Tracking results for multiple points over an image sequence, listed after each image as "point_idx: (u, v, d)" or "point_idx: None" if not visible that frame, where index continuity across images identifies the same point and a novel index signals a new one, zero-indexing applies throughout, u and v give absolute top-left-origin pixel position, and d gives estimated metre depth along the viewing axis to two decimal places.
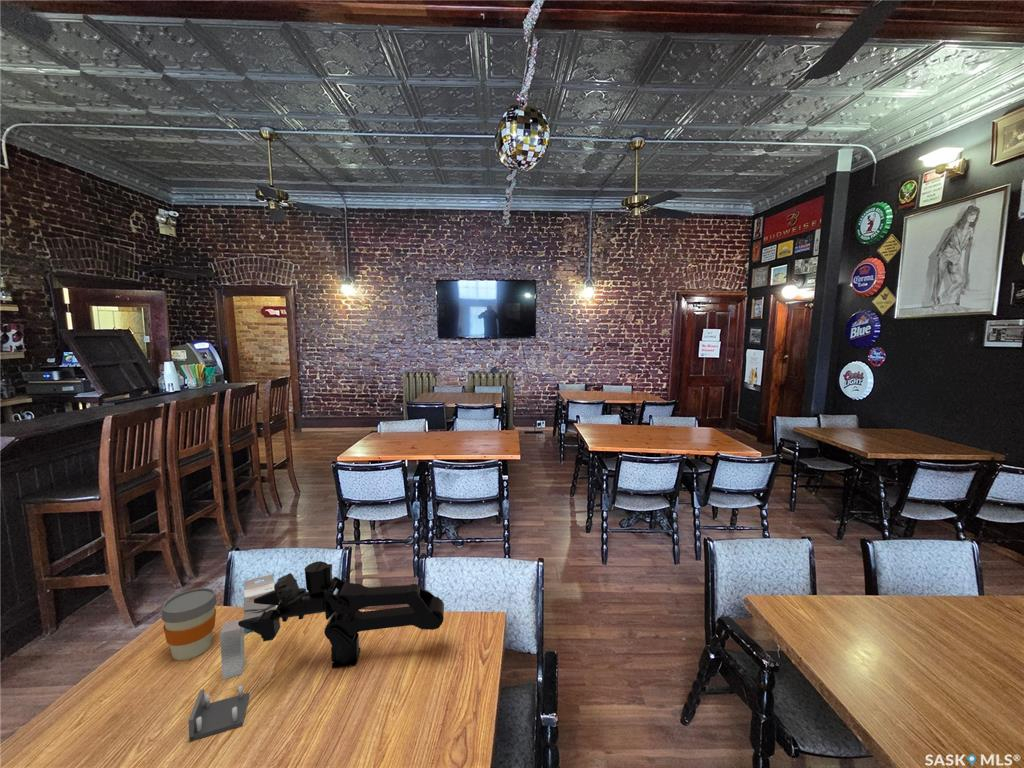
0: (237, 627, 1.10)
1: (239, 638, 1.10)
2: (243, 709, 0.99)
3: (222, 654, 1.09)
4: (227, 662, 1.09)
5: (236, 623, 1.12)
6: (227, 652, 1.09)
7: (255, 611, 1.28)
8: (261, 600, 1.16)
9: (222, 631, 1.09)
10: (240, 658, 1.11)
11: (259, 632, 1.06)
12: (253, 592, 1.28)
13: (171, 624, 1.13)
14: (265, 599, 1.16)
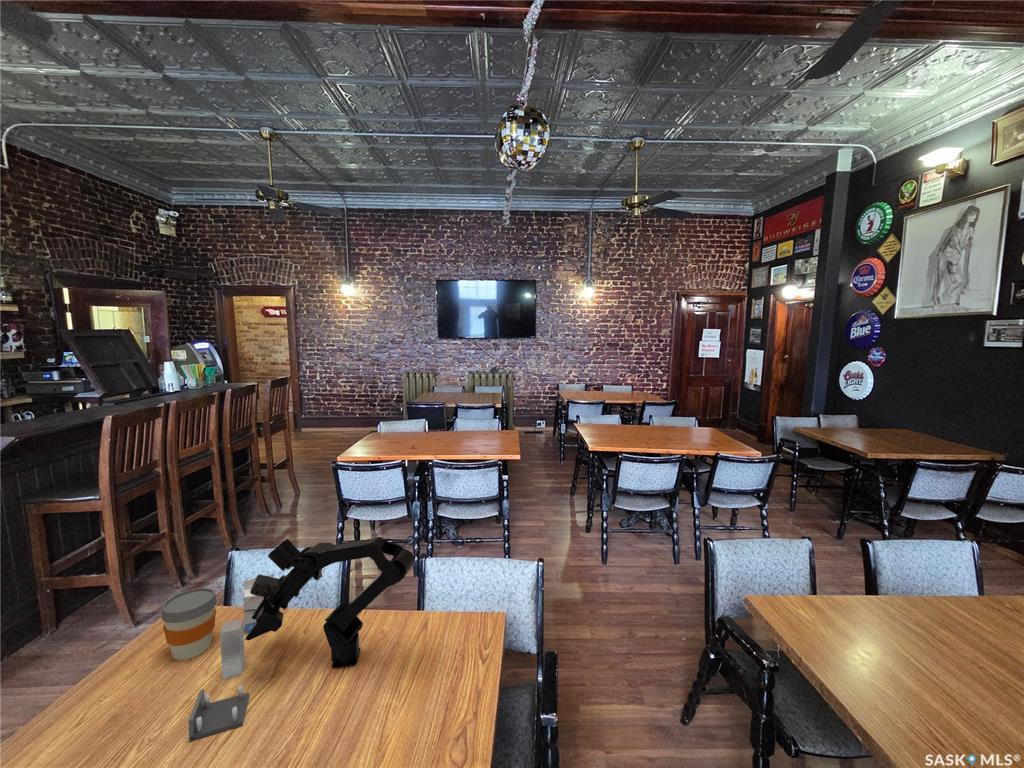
0: (237, 627, 1.10)
1: (239, 638, 1.10)
2: (243, 709, 0.99)
3: (222, 654, 1.09)
4: (227, 662, 1.09)
5: (236, 623, 1.12)
6: (227, 652, 1.09)
7: None
8: (258, 613, 1.17)
9: (222, 631, 1.09)
10: (240, 658, 1.11)
11: (268, 630, 1.09)
12: None
13: (171, 624, 1.13)
14: (261, 609, 1.18)
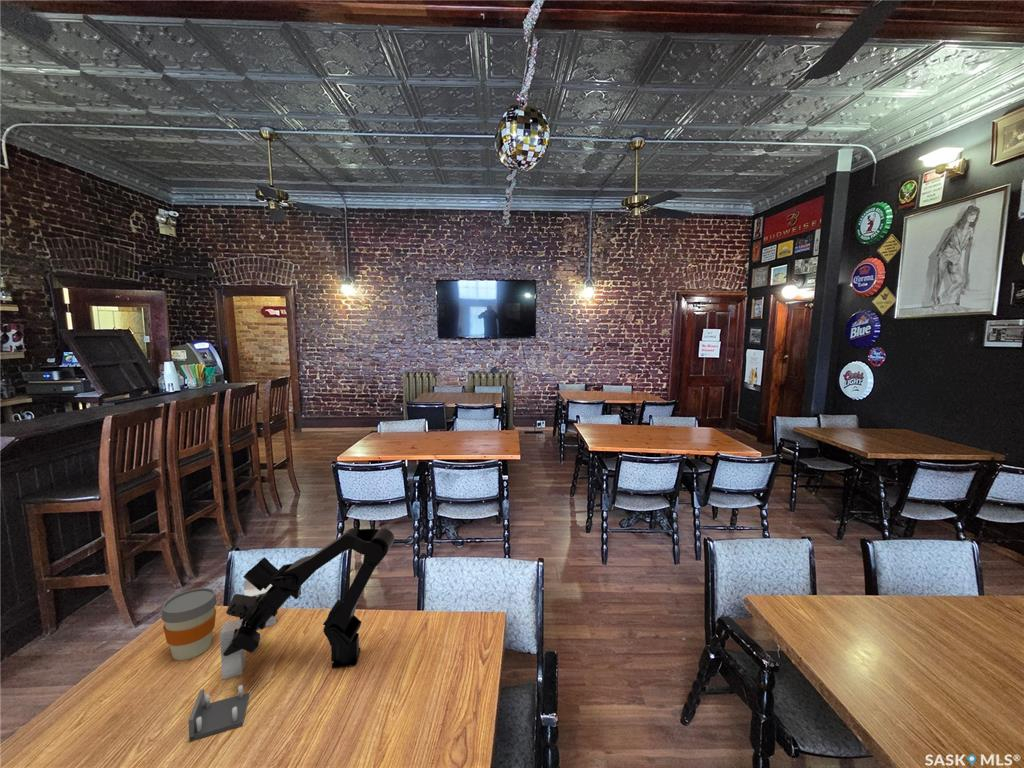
0: (237, 627, 1.10)
1: None
2: (243, 709, 0.99)
3: (222, 654, 1.09)
4: (227, 662, 1.09)
5: (236, 623, 1.12)
6: None
7: None
8: None
9: (222, 631, 1.09)
10: (240, 658, 1.11)
11: None
12: (253, 592, 1.28)
13: (171, 624, 1.13)
14: None
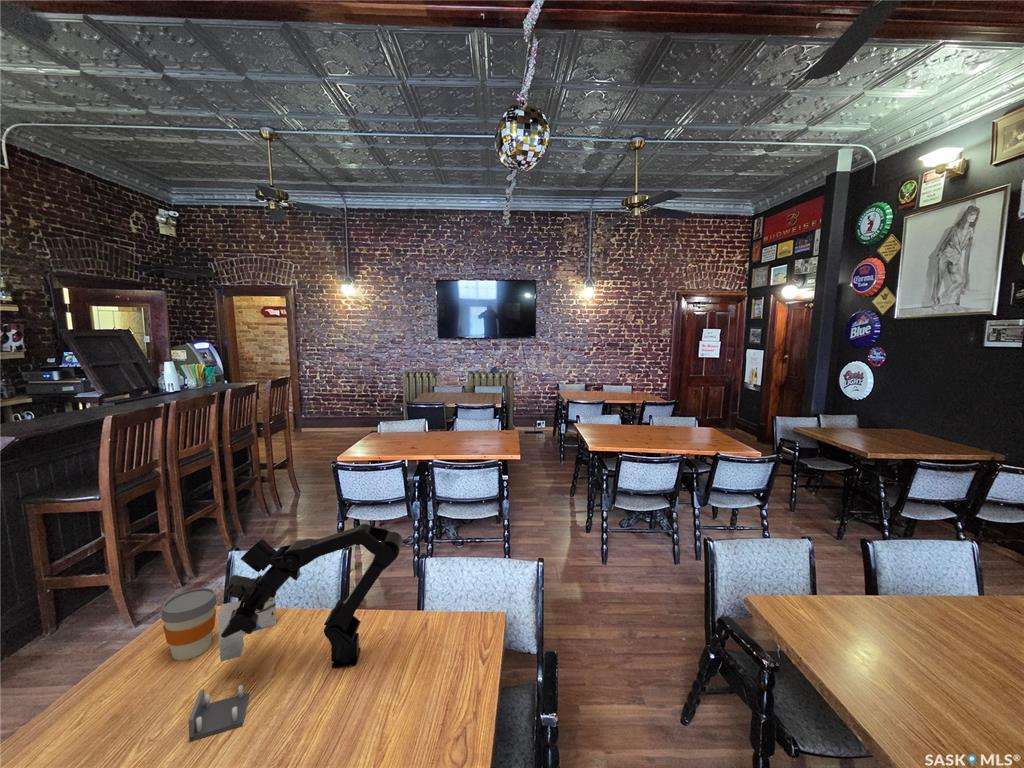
0: (235, 608, 1.08)
1: None
2: (243, 709, 0.99)
3: (220, 635, 1.07)
4: (225, 644, 1.07)
5: (234, 604, 1.10)
6: None
7: (255, 611, 1.28)
8: None
9: (220, 612, 1.07)
10: (238, 640, 1.09)
11: None
12: None
13: (171, 624, 1.13)
14: None
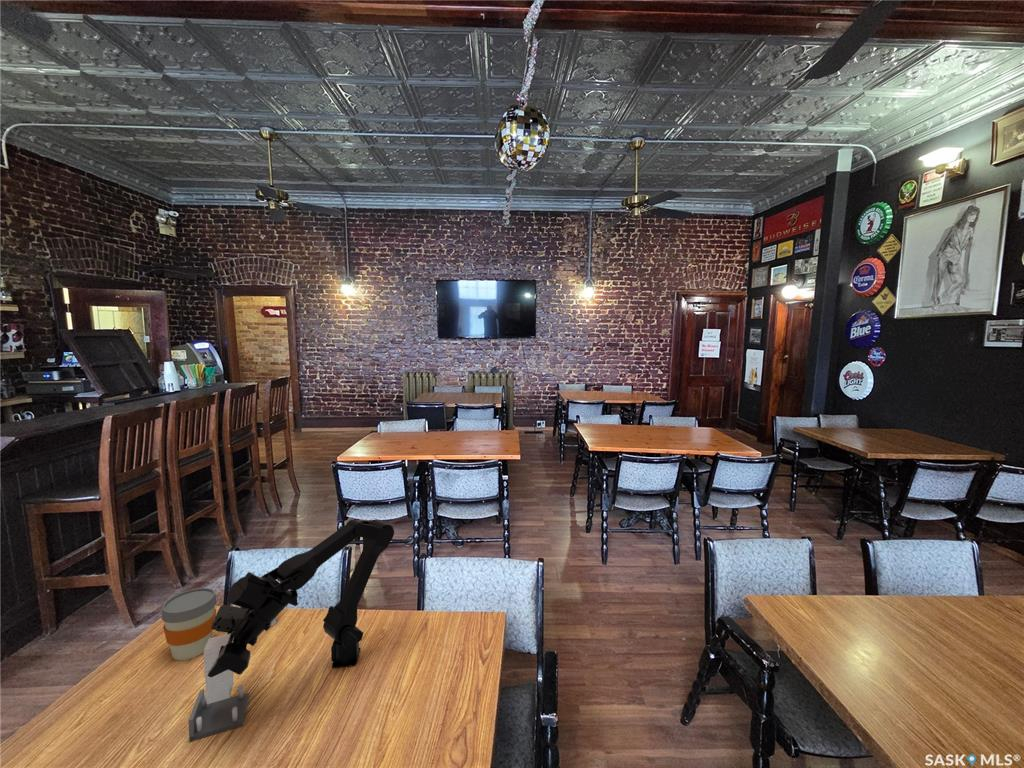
0: (223, 644, 0.96)
1: None
2: (243, 709, 0.99)
3: (206, 675, 0.94)
4: (212, 684, 0.95)
5: (222, 639, 0.97)
6: None
7: None
8: None
9: (206, 648, 0.94)
10: (227, 679, 0.96)
11: None
12: None
13: (171, 624, 1.13)
14: None
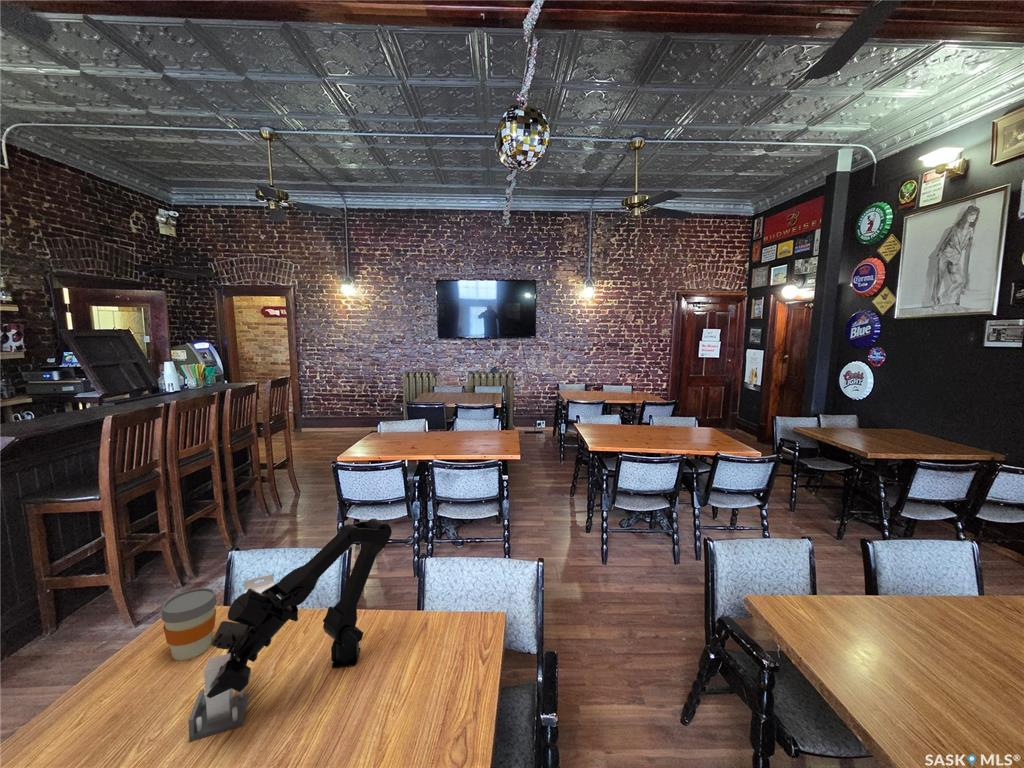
0: None
1: None
2: (243, 709, 0.99)
3: None
4: (212, 704, 0.95)
5: (223, 658, 0.98)
6: None
7: None
8: None
9: (206, 669, 0.95)
10: (228, 699, 0.96)
11: None
12: None
13: (171, 624, 1.13)
14: None
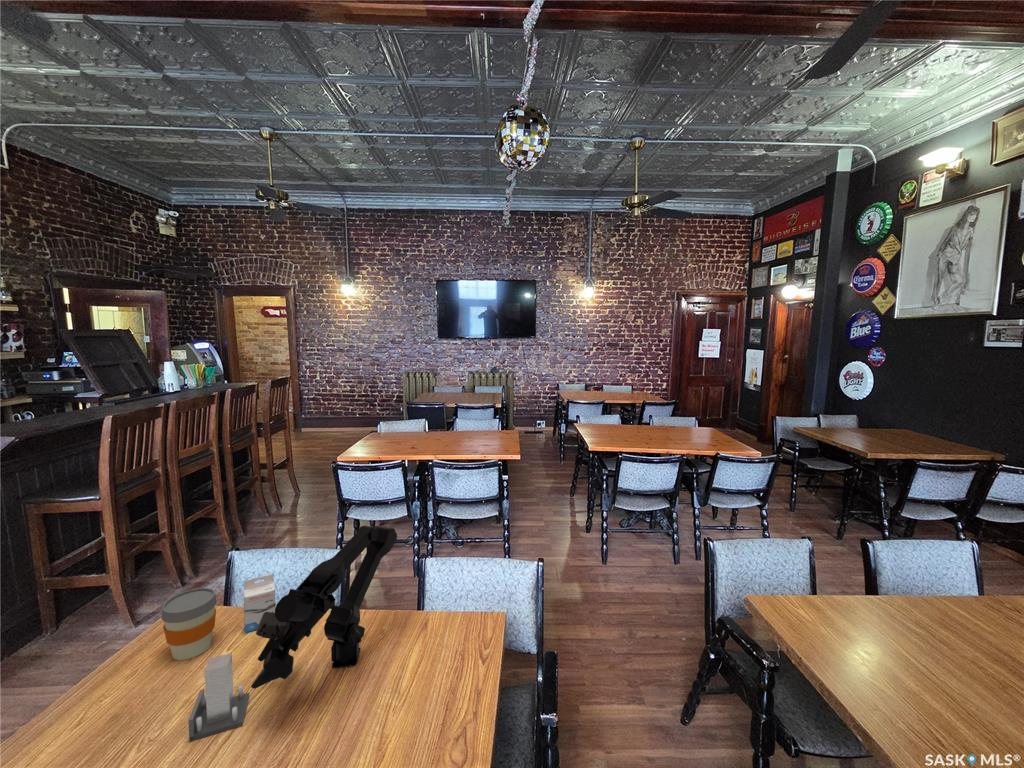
0: (224, 664, 0.96)
1: (227, 676, 0.96)
2: (243, 709, 0.99)
3: (207, 695, 0.95)
4: (213, 704, 0.95)
5: (223, 658, 0.98)
6: (213, 693, 0.95)
7: (255, 611, 1.28)
8: (265, 654, 1.05)
9: (207, 669, 0.95)
10: (228, 699, 0.96)
11: (277, 676, 0.96)
12: (253, 592, 1.28)
13: (171, 624, 1.13)
14: (268, 650, 1.05)
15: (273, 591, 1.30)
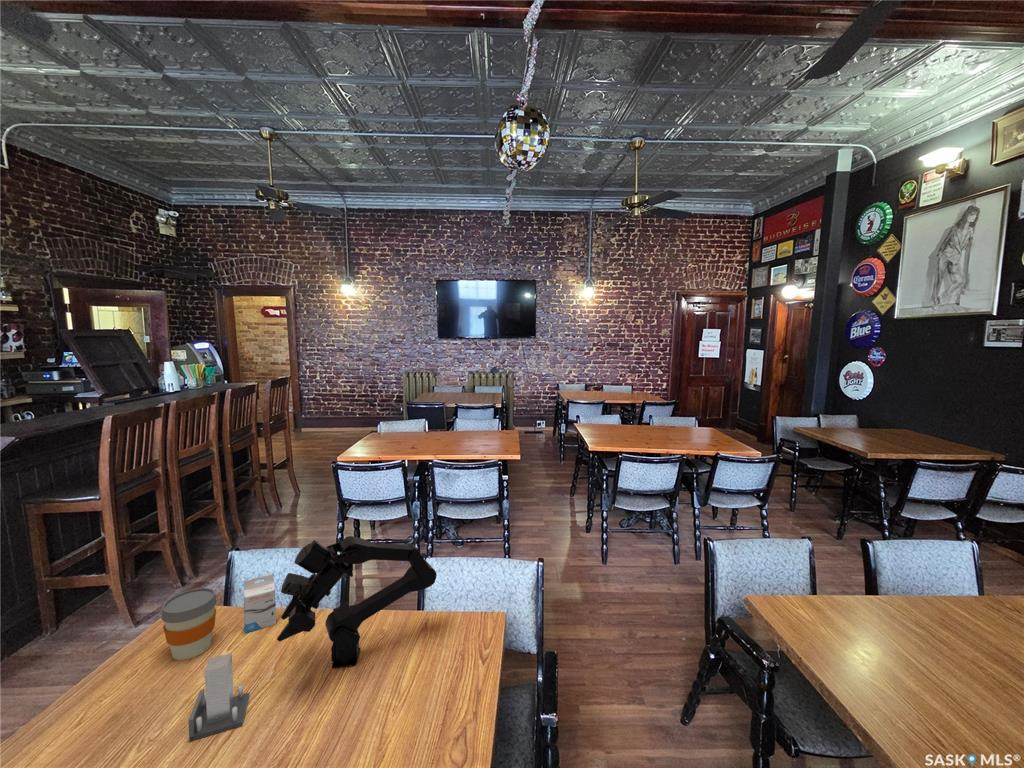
0: (224, 664, 0.96)
1: (227, 676, 0.96)
2: (243, 709, 0.99)
3: (207, 695, 0.95)
4: (213, 704, 0.95)
5: (223, 658, 0.98)
6: (213, 693, 0.95)
7: (255, 611, 1.28)
8: (287, 613, 1.13)
9: (207, 669, 0.95)
10: (228, 699, 0.96)
11: (300, 630, 1.05)
12: (253, 592, 1.28)
13: (171, 624, 1.13)
14: (290, 609, 1.14)
15: (273, 591, 1.30)
